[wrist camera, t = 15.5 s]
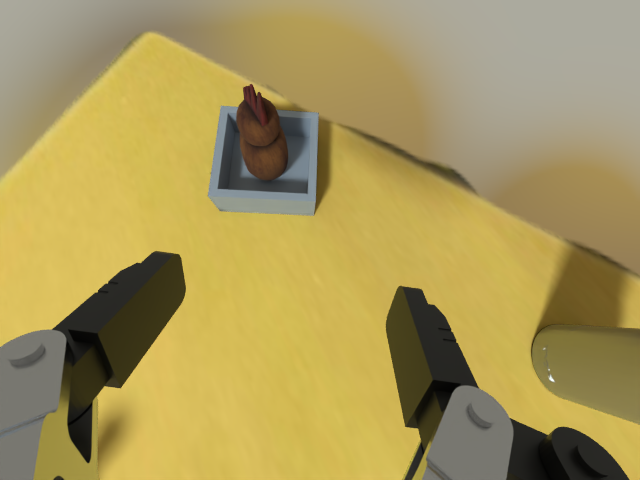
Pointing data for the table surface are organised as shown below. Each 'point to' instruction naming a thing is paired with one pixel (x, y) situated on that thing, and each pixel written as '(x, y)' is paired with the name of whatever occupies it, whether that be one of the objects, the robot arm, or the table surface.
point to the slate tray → (261, 195)
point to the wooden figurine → (261, 136)
